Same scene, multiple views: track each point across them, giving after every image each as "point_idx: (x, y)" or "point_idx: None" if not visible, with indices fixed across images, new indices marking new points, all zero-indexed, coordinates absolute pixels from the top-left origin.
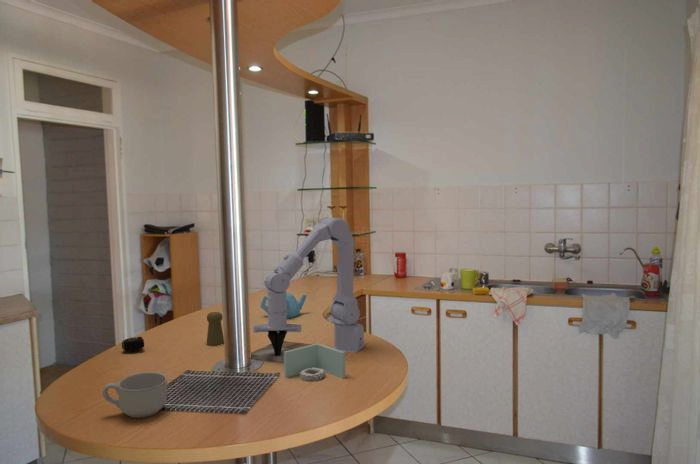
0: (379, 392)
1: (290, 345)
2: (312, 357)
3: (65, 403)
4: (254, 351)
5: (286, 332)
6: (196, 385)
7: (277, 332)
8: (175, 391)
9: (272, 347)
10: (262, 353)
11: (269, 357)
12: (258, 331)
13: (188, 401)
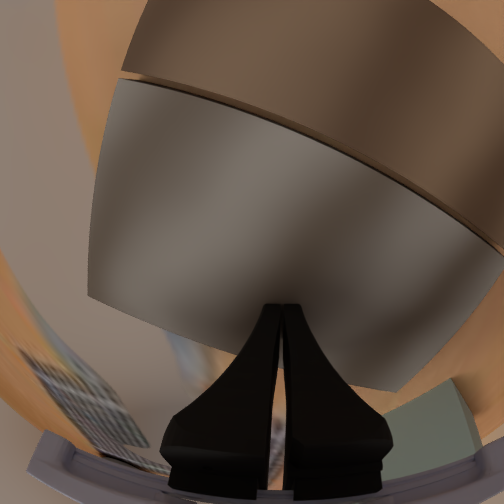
0: (480, 436)
1: (359, 55)
2: (434, 439)
3: (22, 413)
4: (91, 248)
5: (372, 472)
6: (114, 431)
7: (266, 457)
8: (101, 437)
9: (184, 123)
10: (161, 295)
11: (233, 350)
12: (92, 461)
13: (154, 464)
